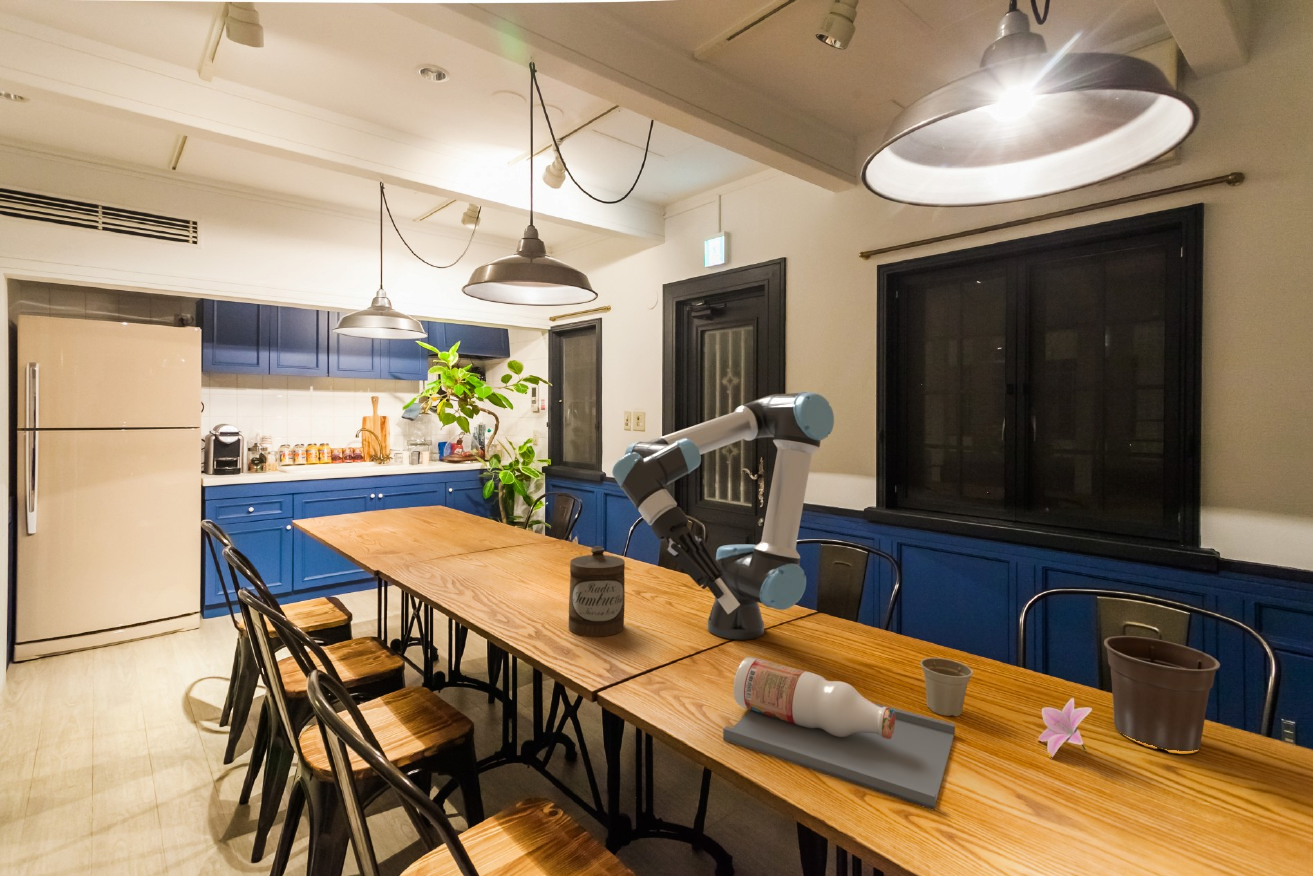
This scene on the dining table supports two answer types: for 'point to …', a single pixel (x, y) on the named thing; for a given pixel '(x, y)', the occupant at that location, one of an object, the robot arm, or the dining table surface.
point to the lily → (1062, 725)
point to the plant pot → (1160, 691)
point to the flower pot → (945, 685)
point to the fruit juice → (808, 700)
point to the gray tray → (859, 752)
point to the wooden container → (596, 594)
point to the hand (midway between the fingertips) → (734, 609)
